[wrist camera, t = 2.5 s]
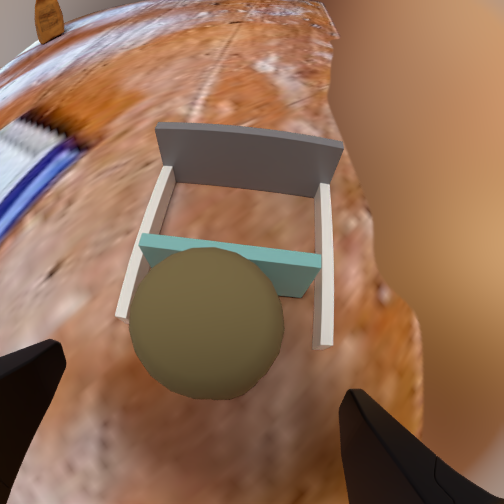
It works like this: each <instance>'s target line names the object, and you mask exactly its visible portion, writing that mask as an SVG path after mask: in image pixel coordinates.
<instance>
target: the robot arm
mask: <svg viewBox="0 0 504 504" xmlns="http://www.w3.org/2000/svg"><path fill="white" fill-rule="evenodd" d="M65 368H66V359H65V355H64V352H63V349H62V345H61V343H60V342H58V341H56V340H53V339H48V340H45V341H42V342H40V343H37V344H34V345H32V346H29V347H26V348H24V349H21V350H18V351H16V352H13V353H10V354H7V355H5V356H2V357H0V504H6V503H7V500H8V498H9V495H10V492H11V489H12V486H13V484H14V481H15V479H16V476H17V474H18V471H19V469H20V466H21V464H22V462H23V459H24V457H25V455H26V452H27V450H28V448H29V446H30V444H31V442H32V439H33V437H34V435H35V433H36V431H37V429H38V427H39V425H40V423H41V421H42V419H43V417H44V415H45V413H46V411H47V409H48V407H49V405H50V403H51V401H52V399H53V397H54V394H55V392H56V389H57V387H58V384H59V382H60V380H61V377H62V375H63V373H64V371H65ZM339 426H340V442H341V456H342V462H343V468H344V474H345V480H346V486H347V492H348V498H349V504H504V499H503V498H499V497H496V496H494V495H492V494H490V493H489V492H487V491H485V490H484V489H482V488H481V487H479V486H477V485H476V484H474V483H473V482H471V481H470V480H468V479H467V478H465V477H464V476H462V475H461V474H459V473H458V472H456V471H455V470H454V469H453V468H451V467H450V466H449V465H447V464H446V463H445V462H444V461H443V460H442V459H440V458H439V457H438V456H436V454H434V453H433V452H432V451H431V450H430V449H429V448H427V447H426V446H425V445H424V444H423V443H422V442H421V441H419V440H418V439H417V438H416V437H415V436H414V435H413V434H411V433H410V432H409V431H408V430H407V429H406V428H405V427H404V426H402V425H401V424H400V423H399V422H398V421H397V420H396V419H395V418H393V417H392V416H391V415H390V414H389V413H388V412H387V411H386V410H384V409H383V408H382V407H381V406H380V405H379V404H378V403H377V402H376V401H375V400H373V399H372V398H371V397H370V396H369V395H368V394H367V393H366V392H365V391H364V390H362V389H349V390H348V391H347V392H346V394H345V396H344V399H343V401H342V403H341V405H340V407H339Z"/></svg>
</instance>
